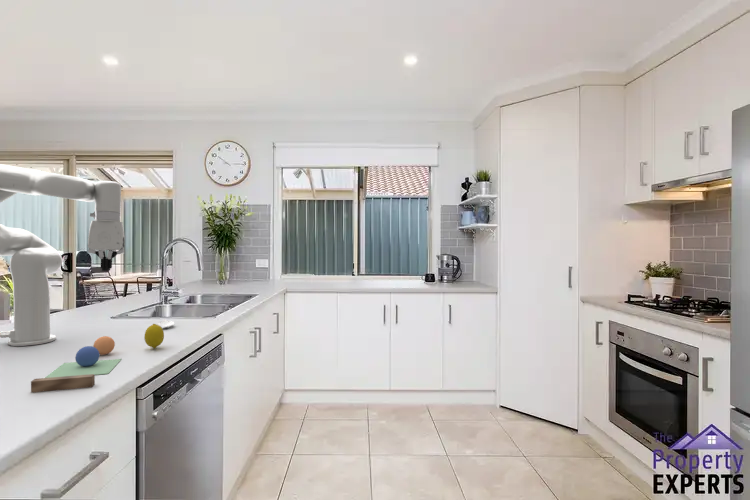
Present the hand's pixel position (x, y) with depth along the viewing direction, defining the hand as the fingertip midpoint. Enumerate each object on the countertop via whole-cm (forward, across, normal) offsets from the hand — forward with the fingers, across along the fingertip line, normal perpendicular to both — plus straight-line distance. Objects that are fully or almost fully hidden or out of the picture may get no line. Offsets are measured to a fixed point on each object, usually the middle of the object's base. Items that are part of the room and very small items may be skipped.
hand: (106, 270), depth 148 cm
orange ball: (+21, +6, -21) cm, 31 cm away
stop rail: (+24, +7, -52) cm, 57 cm away
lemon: (+24, +19, -17) cm, 35 cm away
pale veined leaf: (+24, +15, +18) cm, 34 cm away
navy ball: (+21, +6, -34) cm, 40 cm away
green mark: (+24, +6, -36) cm, 43 cm away
